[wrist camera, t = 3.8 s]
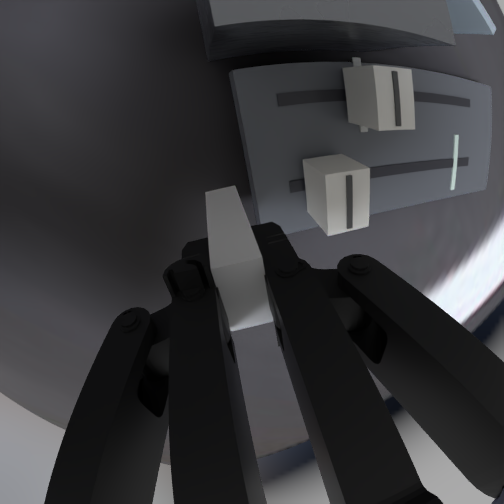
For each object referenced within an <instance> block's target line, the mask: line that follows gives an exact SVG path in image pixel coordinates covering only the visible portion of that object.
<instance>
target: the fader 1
mask: <svg viewBox="0 0 504 504" xmlns="http://www.w3.org/2000/svg"><path fill="white" fill-rule="evenodd" d="M303 169H304V178H305V189H306V200H307V211H308V213H309V214H310V215H311V216H312V218H313V219H314V220H315V221H316V222H317V224H318V225H319V226H320V227H321V228H322V230H323V231H324V232H325V233H326V234H327V236H331V235H335V234H339V233H343V232H347V231H351V230H356V229H360V228H364V227H368V226H369V204H370V168H369V167H367V166H365V165H363V164H361V163H359V162H357V161H355V160H353V159H351V158H349V157H347V156H345V155H343V154H336V155H329V156H322V157H315V158H309V159H303Z"/></svg>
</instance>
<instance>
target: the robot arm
mask: <svg viewBox="0 0 504 504" xmlns="http://www.w3.org/2000/svg"><path fill="white" fill-rule="evenodd" d="M205 195H206V213H207V228H208V238H204V239H200V240H195V241H191V242H188V243H187V244H186V245H185V247H184V248H183V250H182V259H181V260H179V261H176V262H175V263H173V264H171V265H170V266H169V267H168V268H167V269H166V270H165V272H164V274H163V279H164V281H165V283H166V285H167V288H168V290H169V292H170V294H171V296H172V303H171V304H169V305H168V306H167V307H165V308H163V309H161V310H159V311H157V312H155V313H153V314H151V315H150V314H149V312H148V311H147V310H146V309H144V308H139V307H136V308H131V309H128V310H126V311H124V312H123V313H121V314H120V315H119V316H118V317H117V318H116V319H115V321H114V322H113V324H112V326H111V328H110V330H109V332H108V334H107V336H106V338H105V340H104V342H103V344H102V346H101V348H100V350H99V352H98V354H97V356H96V359H95V361H94V363H93V365H92V367H91V370H90V372H89V374H88V376H87V379H86V381H85V383H84V386H83V388H82V390H81V393H80V395H79V398H78V400H77V402H76V405H75V408H74V410H73V413H72V415H71V418H70V421H69V423H68V426H67V429H66V432H65V435H64V437H63V440H62V443H61V446H60V449H59V452H58V456H57V458H56V462H55V465H54V468H53V472H52V476H51V479H50V482H49V486H48V490H47V494H46V499H45V503H44V504H152V502H153V497H154V491H155V486H156V481H157V476H158V471H159V467H160V462H161V457H162V452H163V448H164V443H165V439H166V434H167V430H168V426H169V441H170V460H171V474H172V486H173V496H174V504H267V503H266V498H265V494H264V490H263V486H262V481H261V477H260V473H259V468H258V464H257V459H256V455H255V450H254V445H253V441H252V436H251V431H250V426H249V421H248V416H247V411H246V406H245V401H244V396H243V391H242V385H241V380H240V375H239V369H238V364H237V358H236V353H235V347H234V342H233V339H232V337H231V334H230V330H231V331H235V330H239V329H244V328H248V327H252V326H256V325H260V324H264V323H268V322H272V321H273V320H274V323H275V329H276V335H277V341H278V346H280V347H281V350H282V353H283V356H284V359H285V362H286V366H287V369H288V372H289V375H290V378H291V381H292V385H293V388H294V391H295V394H296V397H297V400H298V403H299V407H300V410H301V413H302V416H303V419H304V422H305V426H306V429H307V432H308V435H309V438H310V441H311V444H312V448H313V450H314V454H315V457H316V460H317V463H318V466H319V470H320V472H321V476H322V479H323V482H324V485H325V488H326V491H327V495H328V498H329V501H330V504H443V503H442V502H441V500H440V499H439V498H438V497H437V496H435V495H434V494H432V493H430V492H429V491H427V490H426V489H425V487H424V486H423V485H422V483H421V481H420V478H419V476H418V474H417V471H416V469H415V467H414V465H413V462H412V460H411V458H410V456H409V454H408V451H407V449H406V447H405V445H404V442H403V440H402V438H401V436H400V434H399V432H398V429H397V428H396V426H395V424H394V421H393V419H392V417H391V415H390V413H389V411H388V409H387V407H386V405H385V403H384V401H383V399H382V397H381V395H380V393H379V391H378V389H377V387H376V385H375V383H374V381H373V379H372V377H371V375H370V373H369V371H368V369H369V370H370V371H371V372H372V373H373V374H374V375H375V376H376V378H377V379H378V380H379V381H380V382H381V383H382V384H383V385H384V386H385V388H386V389H387V390H388V391H389V392H390V393H391V394H392V395H393V396H394V397H395V399H396V400H397V401H398V402H399V403H400V404H401V405H402V406H403V407H404V409H405V410H406V411H407V412H408V413H409V414H410V415H411V416H412V417H413V418H414V420H415V421H416V422H417V423H418V424H419V425H420V426H421V428H422V429H423V430H424V431H425V432H426V433H427V434H428V435H429V436H430V438H431V439H432V440H433V441H434V442H435V443H436V444H437V445H438V447H439V448H440V449H441V450H442V451H443V452H444V453H445V454H446V456H447V457H448V458H449V459H450V460H451V461H452V462H453V463H454V465H455V466H456V467H457V468H458V469H459V470H460V471H461V472H462V473H463V475H464V476H465V477H466V478H467V479H468V480H469V481H470V482H471V483H472V484H473V485H474V486H475V487H476V488H477V489H479V490H480V491H481V492H483V493H484V494H486V495H488V496H491V497H493V498H495V500H494V501H493V502H492V504H504V362H503V361H502V360H501V359H499V357H497V356H496V355H495V354H494V353H493V352H492V351H491V350H490V349H488V348H487V347H486V346H485V345H484V344H483V343H482V342H481V341H479V340H478V339H477V338H476V337H475V336H474V335H473V334H471V333H470V332H469V331H468V330H467V329H466V328H464V327H463V326H462V325H461V324H460V323H458V322H457V321H456V320H455V319H453V318H452V317H451V316H450V315H449V314H447V313H446V312H445V311H444V310H442V309H441V308H440V307H439V306H437V305H436V304H435V303H434V302H432V301H431V300H430V299H428V298H427V297H426V296H425V295H423V294H422V293H421V292H419V291H418V290H417V289H415V288H414V287H413V286H411V285H410V284H409V283H407V282H406V281H405V280H403V279H402V278H401V277H399V276H398V275H397V274H395V273H394V272H392V271H391V270H390V269H388V268H387V267H386V266H384V265H383V264H381V263H380V262H379V261H377V260H376V259H374V258H372V257H370V256H367V255H362V254H353V255H349V256H346V257H344V258H343V259H341V260H340V262H339V263H338V265H337V269H315V268H311V266H310V265H309V264H308V263H307V262H306V261H305V260H302V259H300V258H298V256H297V254H296V252H295V251H294V249H293V247H292V245H291V244H290V242H289V240H288V239H287V237H286V235H285V234H284V232H283V230H282V228H281V226H279V225H277V224H276V223H274V222H268V223H263V224H259V225H255V226H250V223H249V221H248V218H247V215H246V213H245V210H244V208H243V205H242V202H241V200H240V197H239V194H238V192H237V189H236V187H235V185H234V186H230V187H225V188H221V189H217V190H212V191H208V192H205ZM367 368H368V369H367Z"/></svg>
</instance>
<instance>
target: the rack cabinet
mask: <svg viewBox="0 0 504 504" xmlns="http://www.w3.org/2000/svg"><path fill="white" fill-rule="evenodd" d="M196 5H197V10H198V15H199V20H200V25H201V30H202V35H203V40H204V44H205V49H206V54H207V59H208V61H213V60H219V59H224V58H230V57H236V56H243V55H251V54H259V53H269V52H282V51H300V50H341V51H360V52H367V51H374V50H382V49H390V48H401V47H414V46H456V44H455V38H454V33H453V28H452V23H451V19H450V14H449V10H448V6H447V3H446V0H196Z"/></svg>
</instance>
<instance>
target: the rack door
mask: <svg viewBox="0 0 504 504" xmlns="http://www.w3.org/2000/svg"><path fill="white" fill-rule="evenodd" d="M446 3H447V6H448V10H449V14H450V19H451V23H452V28H453V33H454V34H488V35H494V33H495V30H496V27H495V25H494V24H493V22H492V20H491V18H490V17H489V15H488V13H487V12H486V10H485V9H484V7H483V5H482V4H481V2H480V1H479V0H446Z"/></svg>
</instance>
